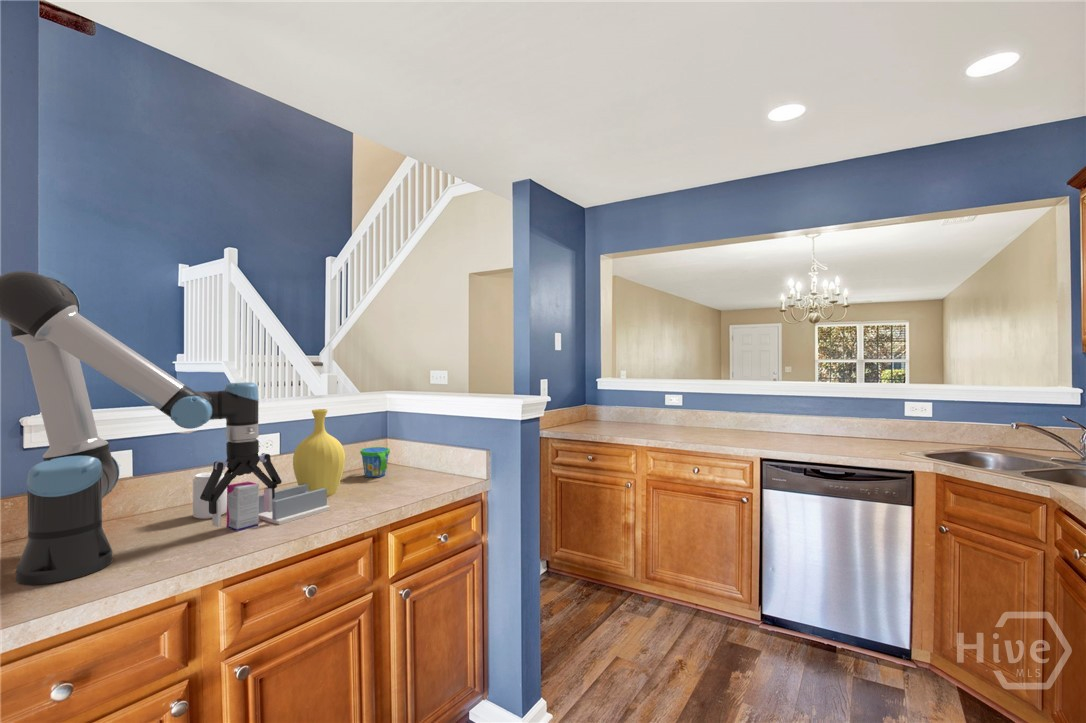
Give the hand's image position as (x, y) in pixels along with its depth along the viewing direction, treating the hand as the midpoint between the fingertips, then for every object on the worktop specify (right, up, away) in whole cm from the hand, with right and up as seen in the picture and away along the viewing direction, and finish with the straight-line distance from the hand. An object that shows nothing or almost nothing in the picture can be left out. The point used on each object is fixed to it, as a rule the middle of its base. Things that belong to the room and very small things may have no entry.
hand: (243, 518), depth 137 cm
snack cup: (+17, -2, +57) cm, 60 cm away
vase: (+6, -2, +32) cm, 33 cm away
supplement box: (0, -2, 0) cm, 2 cm away
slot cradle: (+7, -2, +12) cm, 14 cm away
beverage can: (-15, -2, +9) cm, 17 cm away
